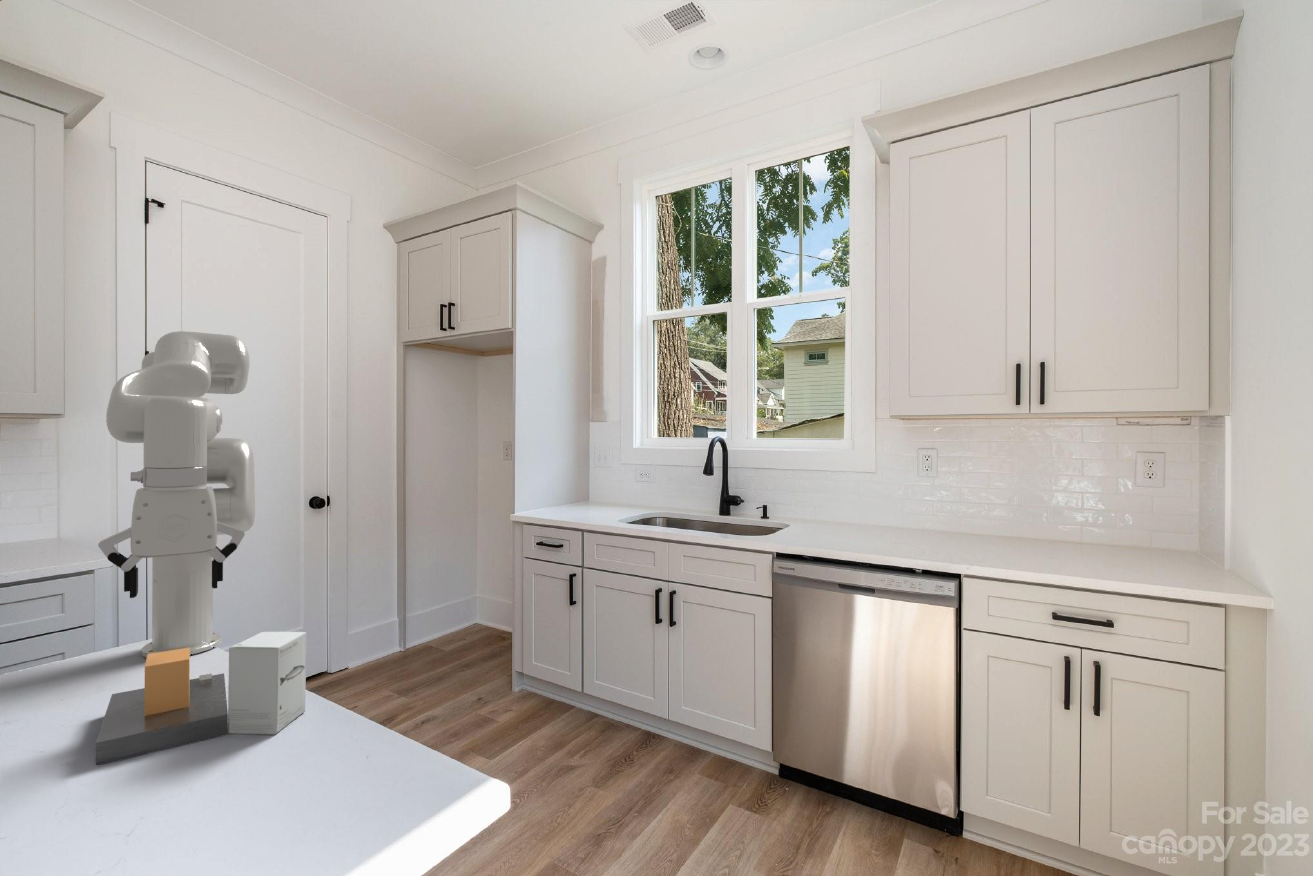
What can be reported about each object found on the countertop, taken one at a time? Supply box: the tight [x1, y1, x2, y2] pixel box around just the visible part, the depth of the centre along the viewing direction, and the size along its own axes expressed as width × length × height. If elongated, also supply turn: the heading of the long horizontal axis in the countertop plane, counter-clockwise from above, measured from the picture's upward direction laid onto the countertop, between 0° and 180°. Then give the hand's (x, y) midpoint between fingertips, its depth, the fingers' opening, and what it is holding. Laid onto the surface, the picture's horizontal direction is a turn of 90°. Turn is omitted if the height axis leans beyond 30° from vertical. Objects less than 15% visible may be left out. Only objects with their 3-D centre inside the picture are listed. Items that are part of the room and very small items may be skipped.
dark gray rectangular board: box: [95, 673, 229, 767], centre depth 90 cm, size 18×14×4 cm
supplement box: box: [227, 631, 307, 735], centre depth 91 cm, size 7×7×13 cm
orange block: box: [144, 647, 191, 716], centre depth 91 cm, size 8×5×9 cm, turn 37°
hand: (175, 590), depth 92 cm, fingers open, 9 cm apart
